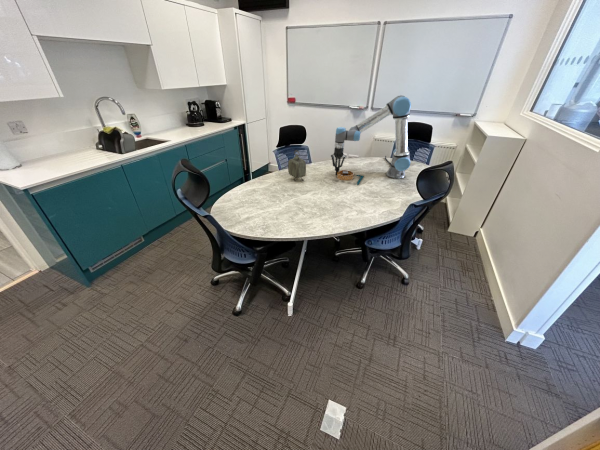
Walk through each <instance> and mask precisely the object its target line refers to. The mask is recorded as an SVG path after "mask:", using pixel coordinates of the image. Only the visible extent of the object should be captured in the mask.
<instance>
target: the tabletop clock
mask: <svg viewBox="0 0 600 450" xmlns="http://www.w3.org/2000/svg"><path fill="white" fill-rule="evenodd" d="M296 152H297V153H296ZM293 153H294V155H295V156H294V157H293V158H290V159H289V160H288V161H287V172H288V174H289V176H291V177H292V178H294V179H293V181H294V182H295V181H297V179H301V181H302V182H304V181H305V180H304V179H303V177H306V174H307V163H306V160H305V159H303V158H301V157H300V152H299V151H298V150H294V152H293Z"/></svg>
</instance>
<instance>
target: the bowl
mask: <svg viewBox="0 0 600 450" xmlns="http://www.w3.org/2000/svg"><path fill="white" fill-rule="evenodd" d="M343 171H347V172H348V176H343V175H342V174H343ZM354 175H355V173H354V171H351V170H347V169H342V170H340V169H339V171H338V172H337V175H336V178H337V179H338V180H341V181H352V180H353V179H354Z"/></svg>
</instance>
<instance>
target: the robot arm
mask: <svg viewBox="0 0 600 450" xmlns="http://www.w3.org/2000/svg"><path fill="white" fill-rule="evenodd" d="M411 108H412V102H411V100H410V99H409V98H408V97H407V96H405V95H401V94H400V95H397V96H396V97H394V98H393V99H391V100H390V101H389V102H387V103H386V104H385V106H383V107H381V108H380V109H378V110H377V111H375V112H374V113H373V114H371V115H370V116H368V117H367V118H365V119H363V120H362V121H361V122H359V123H357V124H356V125H354V126H351V127H350V128H349V129H348V130H347V128H346V127H343V126H338V127H336V129H335V135H334V136H335V139H334V148H333V149H334V150H333V154H331V155H330V157H331V162H332V167H334V171H335V176H337V172H338V171H340V168H342V167H343V164H344V162H345V159H346V158H347V156H346V155H344V150H345V148H344V147H345V141H350V142H360V140H361V134H362V133H363V132H365V131H367V130H368V129H369V128H371V127H374V125H376V124H378V123H380V122H381V121H383V120H384V119H386V118H388V117H389V116H392V119H393V120H394V130H395V132H394V133H395V135H394V136H395V149H394V150H393V152H392V156H391V162H390V161H389V160H388V159H387V155H385V156H384V160H385V161H386V162H387V163H388V164H389V165H390V166H389V168H388V169H387V172H386V176H387V177H389V178H392V179H397V180H399V179H403V178H405V177H406V170H408V169H409V168H410V166H411V158H410V156H411V154H410V152H411V151H409V150H408V140H409V139H408V136H409V135H408V120H409V119H408V118H409V117H410V116H411ZM341 159H342V160H341Z"/></svg>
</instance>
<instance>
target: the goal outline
mask: <svg viewBox="0 0 600 450" xmlns="http://www.w3.org/2000/svg"><path fill="white" fill-rule="evenodd" d="M356 177H359V179H358V181H357V182H356V185H357V186H359V185H360V184H361V181H362V180H363V178H364V175H360V174H356Z"/></svg>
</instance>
